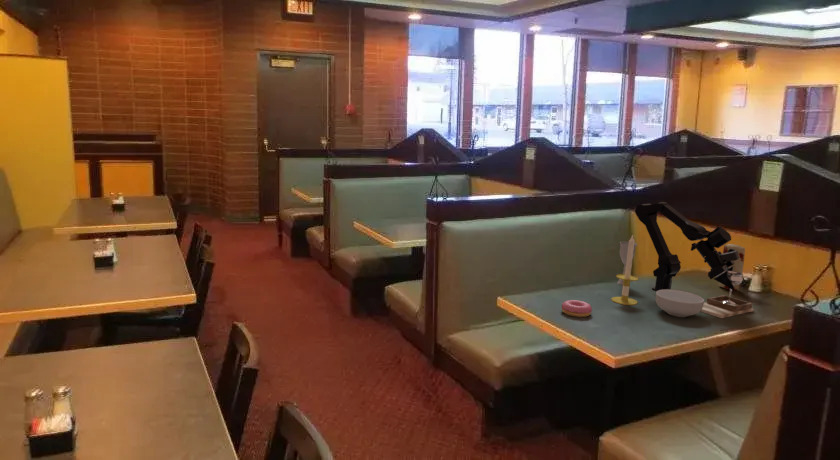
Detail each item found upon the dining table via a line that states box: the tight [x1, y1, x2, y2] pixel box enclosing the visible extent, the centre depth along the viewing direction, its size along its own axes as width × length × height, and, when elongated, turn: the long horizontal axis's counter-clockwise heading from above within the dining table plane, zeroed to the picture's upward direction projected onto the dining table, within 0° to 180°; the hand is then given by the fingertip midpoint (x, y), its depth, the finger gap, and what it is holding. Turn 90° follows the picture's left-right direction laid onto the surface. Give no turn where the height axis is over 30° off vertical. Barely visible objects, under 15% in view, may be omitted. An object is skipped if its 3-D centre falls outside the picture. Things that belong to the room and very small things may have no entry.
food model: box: [717, 243, 746, 292], centre depth 275 cm, size 10×7×20 cm
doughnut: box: [561, 299, 593, 318], centre depth 230 cm, size 11×11×4 cm
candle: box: [610, 234, 639, 306], centre depth 246 cm, size 10×10×27 cm
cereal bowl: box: [655, 289, 705, 318], centre depth 236 cm, size 17×17×7 cm
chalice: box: [617, 241, 638, 286], centre depth 273 cm, size 7×7×18 cm
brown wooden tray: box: [700, 294, 754, 319], centre depth 245 cm, size 21×13×3 cm, turn 123°
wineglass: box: [722, 271, 744, 304], centre depth 246 cm, size 7×7×12 cm
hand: (735, 287), depth 245 cm, fingers closed on wineglass, 6 cm apart
